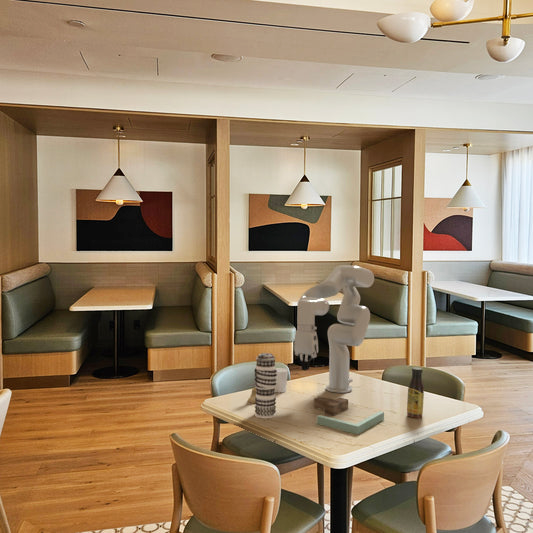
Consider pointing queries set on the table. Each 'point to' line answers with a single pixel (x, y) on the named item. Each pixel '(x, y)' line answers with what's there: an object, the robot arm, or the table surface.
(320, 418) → the corner fence
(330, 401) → the t block
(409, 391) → the sauce bottle
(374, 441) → the table surface
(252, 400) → the hand bell
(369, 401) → the table surface
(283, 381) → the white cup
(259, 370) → the patterned stacked cylinder
